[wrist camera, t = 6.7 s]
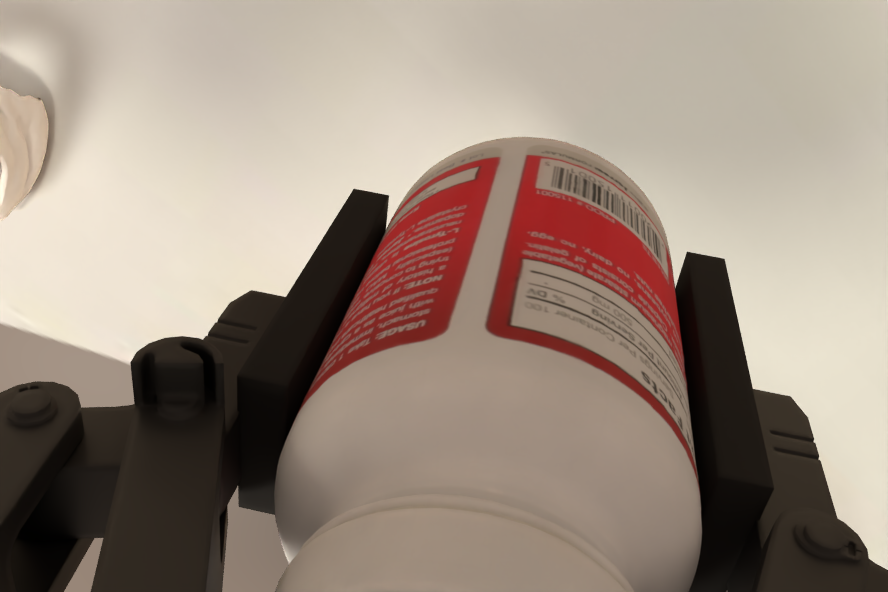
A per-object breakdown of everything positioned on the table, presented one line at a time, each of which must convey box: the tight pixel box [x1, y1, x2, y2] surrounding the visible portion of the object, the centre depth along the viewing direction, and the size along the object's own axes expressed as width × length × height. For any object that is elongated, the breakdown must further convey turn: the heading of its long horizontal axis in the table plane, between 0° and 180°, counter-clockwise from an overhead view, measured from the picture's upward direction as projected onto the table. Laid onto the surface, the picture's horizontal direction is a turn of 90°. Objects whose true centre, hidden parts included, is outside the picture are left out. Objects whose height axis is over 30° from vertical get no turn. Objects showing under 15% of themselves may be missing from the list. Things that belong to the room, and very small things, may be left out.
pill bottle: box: [274, 137, 702, 592], centre depth 14 cm, size 6×6×11 cm
